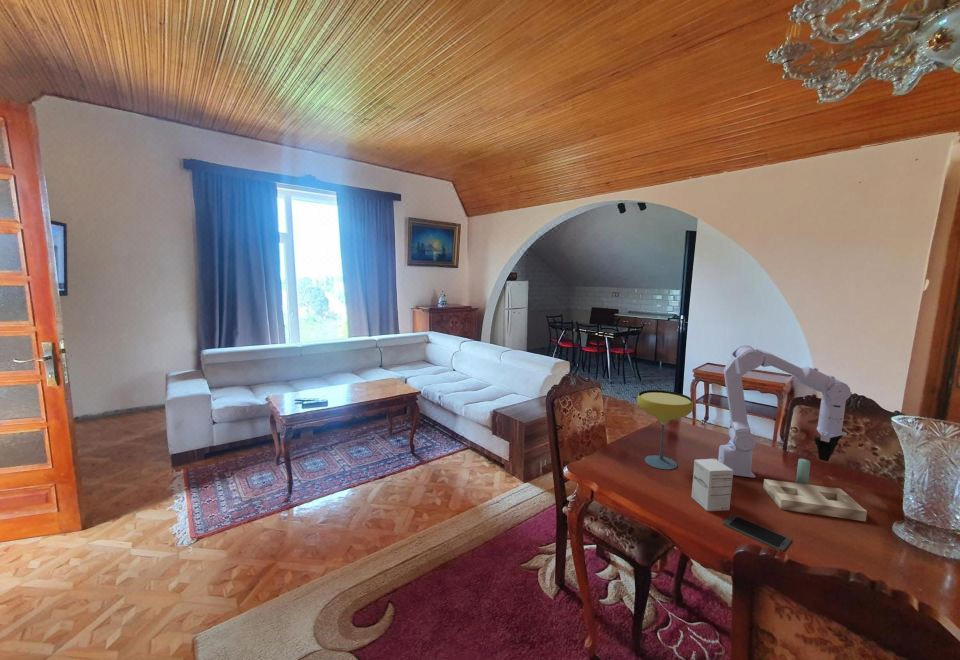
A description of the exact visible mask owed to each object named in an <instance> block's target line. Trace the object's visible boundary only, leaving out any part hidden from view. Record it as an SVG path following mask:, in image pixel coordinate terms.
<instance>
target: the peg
mask: <svg viewBox="0 0 960 660" xmlns="http://www.w3.org/2000/svg"><path fill="white" fill-rule="evenodd" d="M797 460H798V461H797V468H796V469H797V470H796V478H795V483H799V484H807V485H809V481H810V479H809V478H810V470H811V461H810V460H808V459H805V458H798V459H797Z"/></svg>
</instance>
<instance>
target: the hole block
mask: <svg viewBox="0 0 960 660" xmlns="http://www.w3.org/2000/svg"><path fill="white" fill-rule="evenodd" d="M762 488H763V489H764V490H765V492H766V493H767V494H768V496H769V497H770V498H771V499H772V501H774V504H776V505H777V507H778V508H779V509H780V510H785V511H791V512H798V513H805V514H812V515H813V514H814V515H819V516H827V517H833V518H841V519H846V520H854V521H860V522H866V521H867V515H868V510H866V509H865V508H864V507H863V506H861V505H860V504H859V503H858V502H857V501H856V500H854V499H853V498H852V497H851V496H850V495H849V494H848V493H846V492H845V491H844V490H843V489H841V488H837V487H830V486H821V485H816V484H815V485H814V484H808V485H807V484H799V483H796V482H792V481H791V482H789V481H782V480H775V479H768V478H767V479H766V478H764V479H763V487H762Z"/></svg>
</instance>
